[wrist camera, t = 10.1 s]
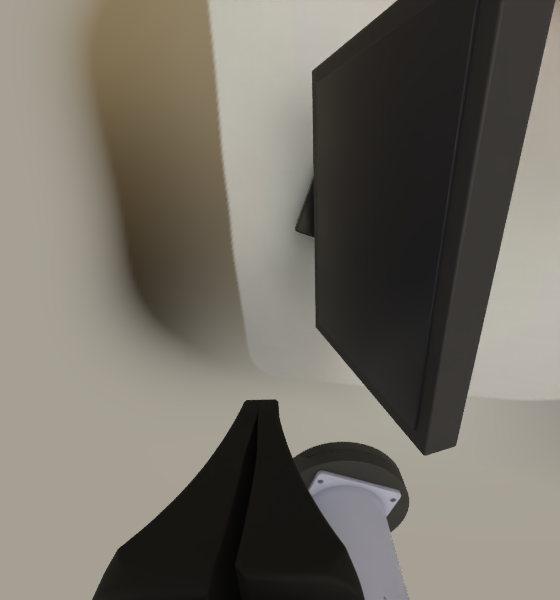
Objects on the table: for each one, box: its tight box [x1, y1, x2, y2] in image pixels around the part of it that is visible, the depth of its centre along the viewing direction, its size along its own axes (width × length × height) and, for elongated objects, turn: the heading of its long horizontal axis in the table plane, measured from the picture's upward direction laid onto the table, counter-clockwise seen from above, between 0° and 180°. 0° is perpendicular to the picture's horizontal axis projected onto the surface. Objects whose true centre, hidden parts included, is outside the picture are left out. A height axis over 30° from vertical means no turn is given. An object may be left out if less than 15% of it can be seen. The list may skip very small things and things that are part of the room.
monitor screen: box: [312, 0, 555, 455], centre depth 11 cm, size 1×12×9 cm, turn 3°
